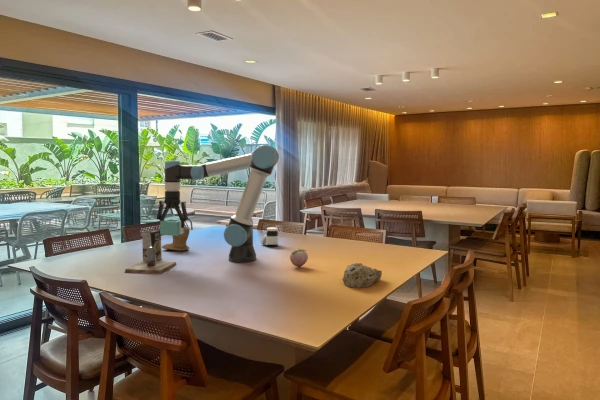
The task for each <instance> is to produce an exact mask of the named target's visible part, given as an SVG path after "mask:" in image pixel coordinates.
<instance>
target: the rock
mask: <svg viewBox="0 0 600 400" xmlns="http://www.w3.org/2000/svg"><path fill="white" fill-rule="evenodd" d="M346 266H347V267H346V268H345V269H344V274H343V278H342V279H341V280H342V282H343V284H344V285H345V286H346V287H348V288H356V289H357V288H358V289H360V288H366V287H369V286H372V285H373V283H375V282H377V281H380V280H381V277H382V274H383V273H382V272H383V271H382V270H380V269H377V268H372V267H370V266H367V265H363V263H358V262H355V263H351V264H348V265H346Z"/></svg>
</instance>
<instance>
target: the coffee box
mask: <svg viewBox="0 0 600 400" xmlns="http://www.w3.org/2000/svg"><path fill="white" fill-rule="evenodd" d="M141 236H142V237H141V238H142V261H147V249H148V248H149V247H154V248H155V258H156V261H159V260H160V261H161V260H162V259H163V257H162V235H160V230H159V229H158V230H157V229H154V230H153V229H151V230H146V231H142V232H141Z"/></svg>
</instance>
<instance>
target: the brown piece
mask: <svg viewBox="0 0 600 400" xmlns="http://www.w3.org/2000/svg"><path fill="white" fill-rule="evenodd" d="M189 235H190V227H189V226H185V227H184V233H183V234H180V235H178V236H172V235H171V236H172V237H171V238H172V243H166V244H163V245H161V249H164V250H168V251H169V250H170V251H180V252H181V251H187V250H189V249H190V246H188V245H187V241H188V238H189Z"/></svg>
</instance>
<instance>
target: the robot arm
mask: <svg viewBox="0 0 600 400" xmlns="http://www.w3.org/2000/svg"><path fill="white" fill-rule="evenodd" d="M278 162H279V153H278V151H277V149H276V148H275V147H274V146H271V145H270V144H269V145H268V144H260V145H259V146H256V148H255V149H254V150H253V151H251V153H247V154H244V155H238V156H234V157H233V156H232V157H229V158H225V159H220V160H215V161H210V162H206V163H200V164H181V161H180V160H166V161H165V163H164V164H165V165H164V200H159V202H158V203H159V204H158V211H157V214H156V220H159V222H160V221H163V220H166V217H167V215H168V212H169V210H170V209H174V210H175V212H176V214H177V216H178V218H179V220H181V221H180V222H179V234H183V228H184V227H186V225H185V222H186V221H189V216H188V213H187V212H188V211H187V207H186V206H187V205H186V204H187V201H181V191H180V190H181V180H193V181H199V180H202V179H205V178H210V177H215V176H218V175H224V174H229V173H233V172H237V171H243V170H244V171H245V170H247V169H249V170H250V173H249V175H248V177H247V178H248V179H247V182H246V183H245V187H244V189H243V192H242V194H241V198H240V200H239V203H238V206H237V207H236V208H237V209H236V211H235V213H234V215H231V216H230V220H229V222H228V224H227V227H225V229H224V231H223V238H224V241H225V242H226V243H227V245H229V246H231V247H230V250H229V253H228V261H230V262H234V263H246V262H247V263H248V262H254V261H256V260H257V254H256V250H255V247H254V222H253V219H252V218H253V215H254V212H255V211H256V207H257V205H258V202H259V199H260V196H261V194H262V191H263V188H264V186H265V183H266V180H267V178H268V177H269V176H271V175H272V172H273V170H274V167H275V166H276V165H277V164H278ZM164 205H165V207H164ZM180 206H181V207H180Z"/></svg>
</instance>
